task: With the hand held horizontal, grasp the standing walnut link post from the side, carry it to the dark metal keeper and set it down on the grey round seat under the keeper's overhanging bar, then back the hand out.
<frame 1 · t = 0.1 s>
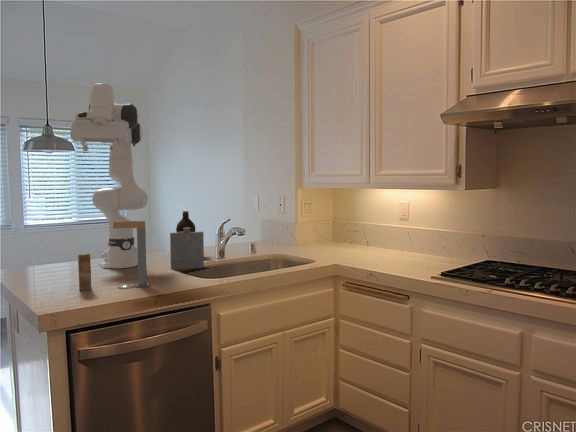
hand: (98, 150, 174), 54 cm above the countertop, tool tilted 30°, fingers open, 8 cm apart
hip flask: (187, 268, 228), on the countertop
keeper: (126, 286, 190), on the countertop
link: (85, 289, 185), on the countertop
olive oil: (186, 255, 266), on the countertop
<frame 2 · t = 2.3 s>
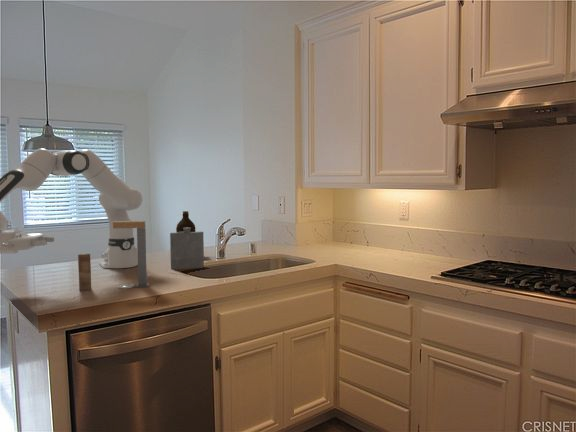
hand: (50, 241, 181), 20 cm above the countertop, tool horizontal, fingers open, 8 cm apart
nothing on the countertop moved.
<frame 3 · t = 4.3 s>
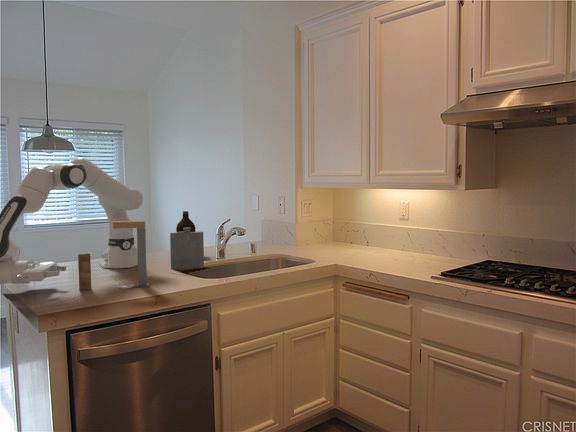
hand: (62, 270, 183), 8 cm above the countertop, tool horizontal, fingers open, 8 cm apart
nothing on the countertop moved.
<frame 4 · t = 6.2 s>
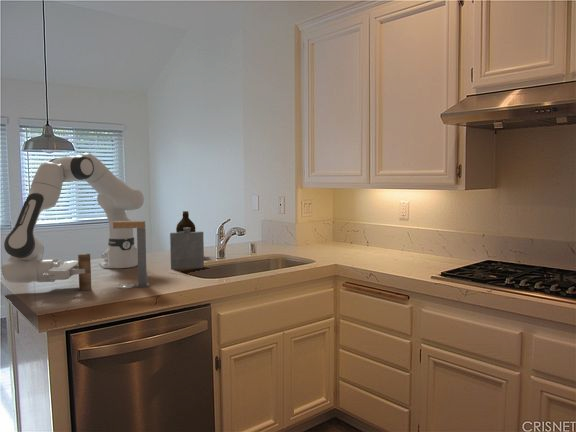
hand: (87, 269, 185), 8 cm above the countertop, tool horizontal, fingers closed on link, 4 cm apart
link: (85, 289, 185), on the countertop, touching gripper
everything else where it was.
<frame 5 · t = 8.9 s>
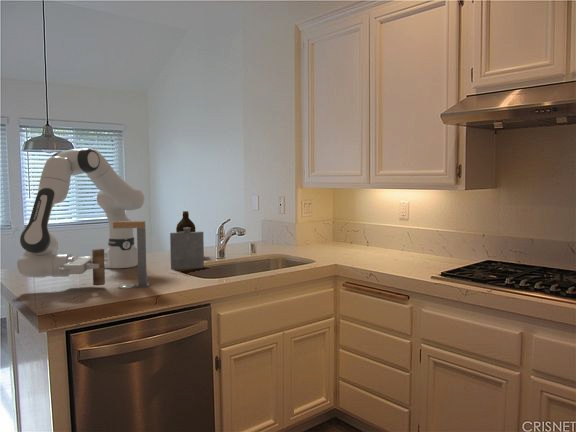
hand: (100, 264, 187), 9 cm above the countertop, tool horizontal, fingers closed on link, 4 cm apart
link: (99, 284, 188), point 1 cm above the countertop, touching gripper
everything else where it was.
when the fingers open (9 cm above the countertop, at t = 11.2 s): link stays where it is, resting on keeper.
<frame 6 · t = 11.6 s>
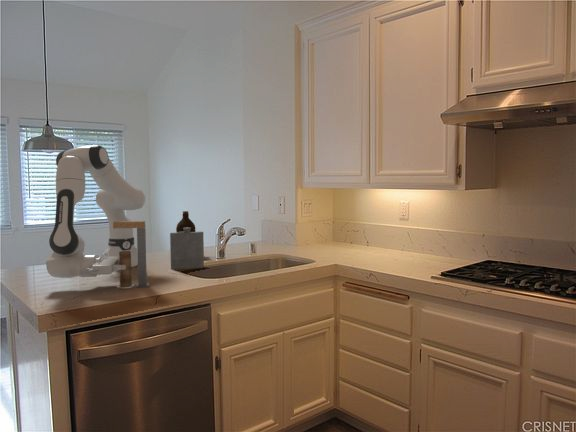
hand: (127, 264, 189), 9 cm above the countertop, tool horizontal, fingers open, 8 cm apart
link: (125, 285, 190), resting on keeper
everything else where it was.
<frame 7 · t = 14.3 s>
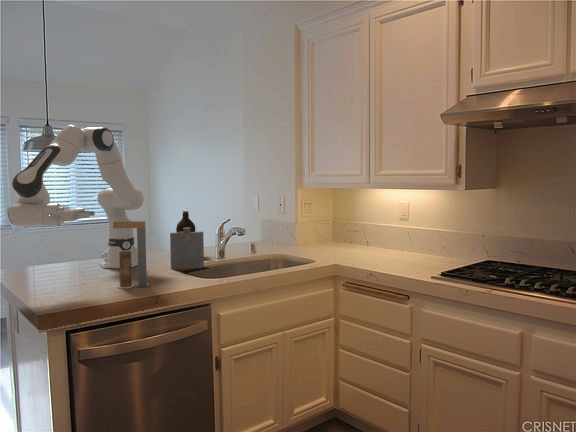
hand: (91, 214, 185), 30 cm above the countertop, tool horizontal, fingers open, 8 cm apart
nothing on the countertop moved.
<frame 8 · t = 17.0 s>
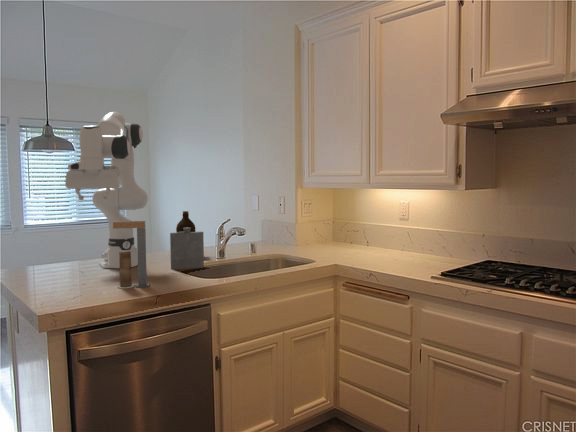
hand: (93, 199, 190), 35 cm above the countertop, tool pointing down, fingers open, 8 cm apart
nothing on the countertop moved.
at the end: link inside the target area (0.0 cm from its centre), resting on keeper; link tilted 0°; the gripper is holding nothing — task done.
